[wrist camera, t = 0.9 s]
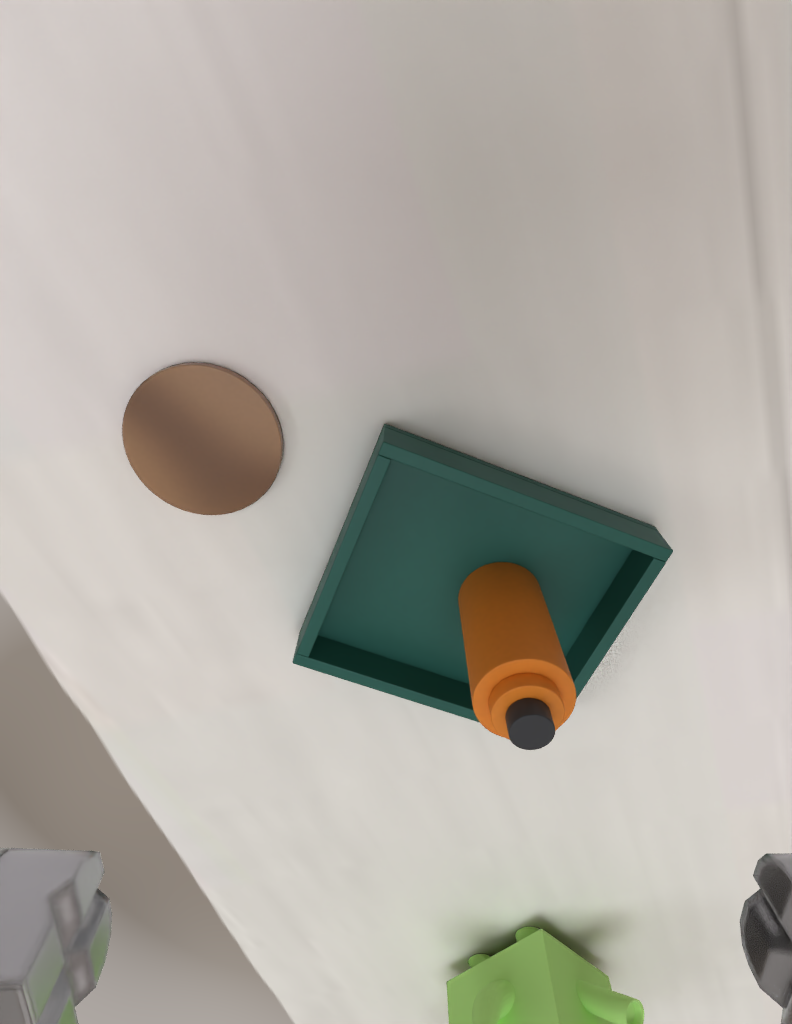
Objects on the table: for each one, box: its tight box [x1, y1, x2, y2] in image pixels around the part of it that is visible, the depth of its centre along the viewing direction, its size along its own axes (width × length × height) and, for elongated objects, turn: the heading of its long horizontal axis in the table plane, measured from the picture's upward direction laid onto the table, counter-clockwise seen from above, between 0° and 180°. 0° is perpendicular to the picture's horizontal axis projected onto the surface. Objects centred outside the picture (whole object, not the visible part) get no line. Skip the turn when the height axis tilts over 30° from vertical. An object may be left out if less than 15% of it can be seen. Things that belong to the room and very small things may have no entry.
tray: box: [293, 424, 673, 722], centre depth 41 cm, size 16×18×3 cm
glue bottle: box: [458, 562, 576, 750], centre depth 37 cm, size 5×5×12 cm
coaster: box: [122, 362, 283, 515], centre depth 38 cm, size 9×9×1 cm
